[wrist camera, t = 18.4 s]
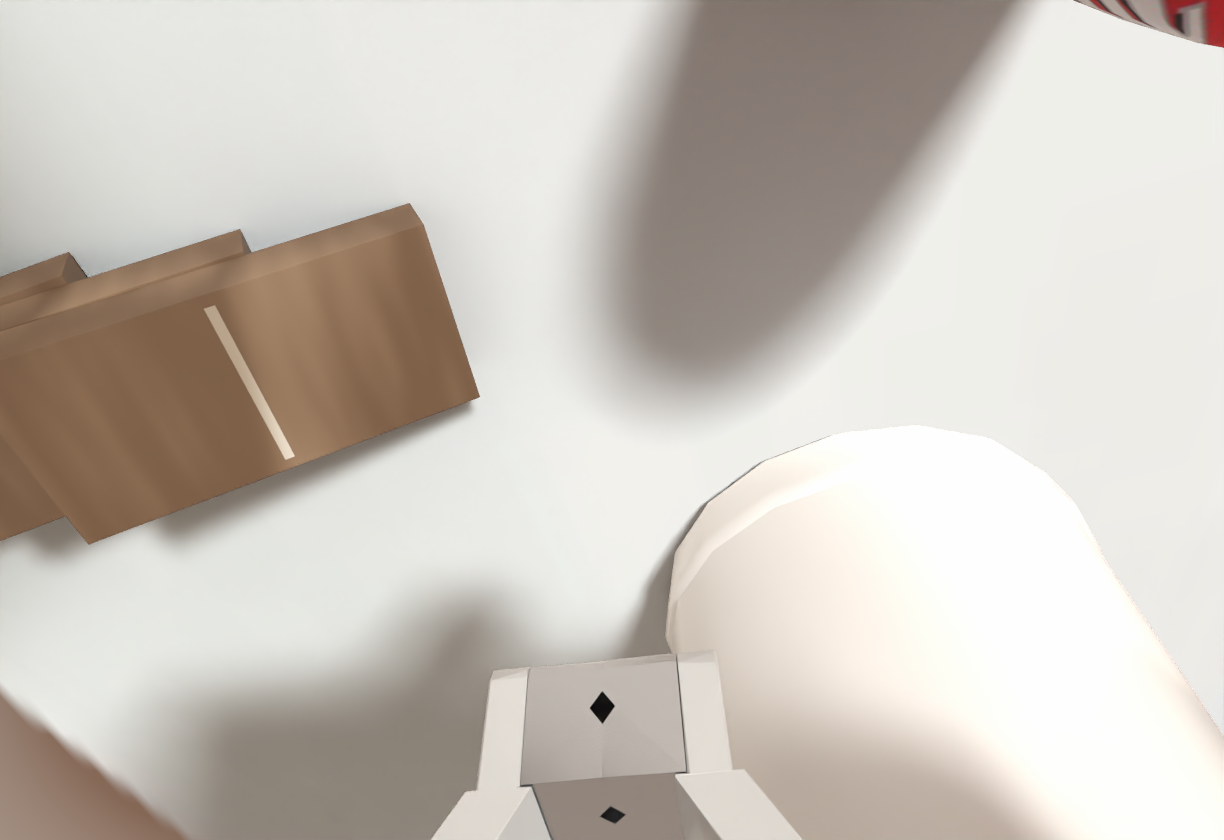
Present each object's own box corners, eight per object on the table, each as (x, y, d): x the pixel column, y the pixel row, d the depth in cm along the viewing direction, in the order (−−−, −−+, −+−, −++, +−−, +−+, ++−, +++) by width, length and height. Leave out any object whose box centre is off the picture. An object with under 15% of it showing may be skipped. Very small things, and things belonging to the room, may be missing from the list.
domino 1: (319, 388, 23) (-58, 528, 21) (239, 229, 20) (-210, 372, 18) (326, 417, 22) (-74, 569, 20) (242, 251, 19) (-240, 409, 17)
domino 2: (464, 369, 23) (95, 504, 21) (409, 203, 20) (-31, 341, 18) (480, 397, 22) (88, 544, 19) (423, 224, 19) (-48, 375, 16)
